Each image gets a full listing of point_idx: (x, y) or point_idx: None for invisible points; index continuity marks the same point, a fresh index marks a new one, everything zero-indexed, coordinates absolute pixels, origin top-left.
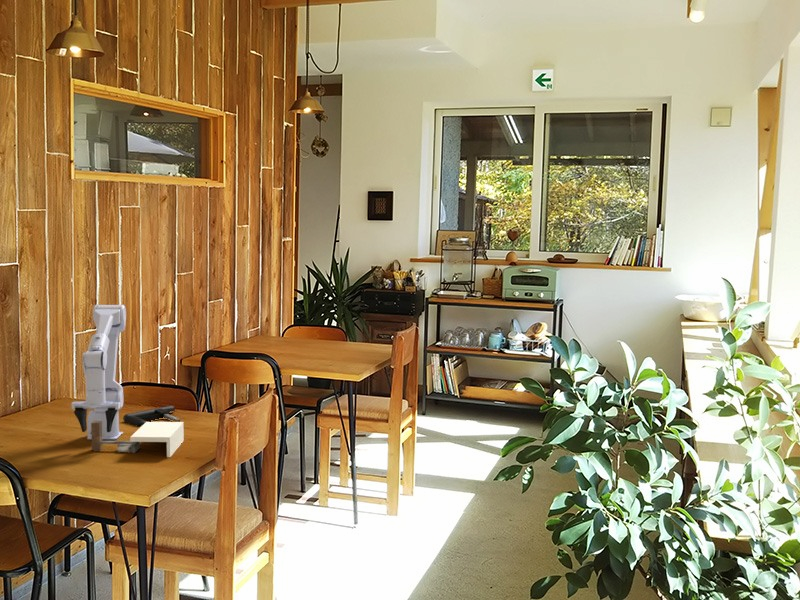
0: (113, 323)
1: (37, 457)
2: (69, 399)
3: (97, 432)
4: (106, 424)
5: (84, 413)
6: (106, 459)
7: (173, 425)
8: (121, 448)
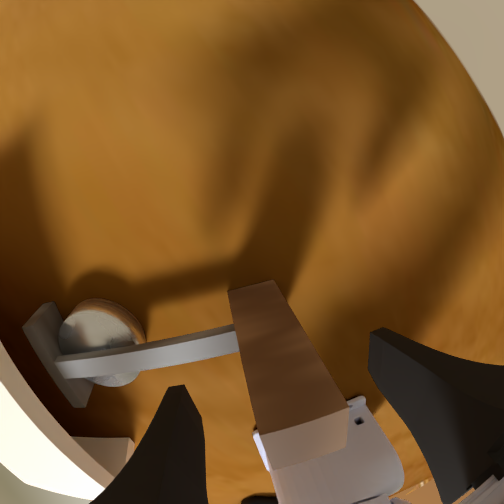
0: None
1: (448, 129)
2: (428, 476)
3: (261, 361)
4: (309, 471)
5: (453, 452)
6: (97, 156)
7: (5, 459)
8: (90, 308)
